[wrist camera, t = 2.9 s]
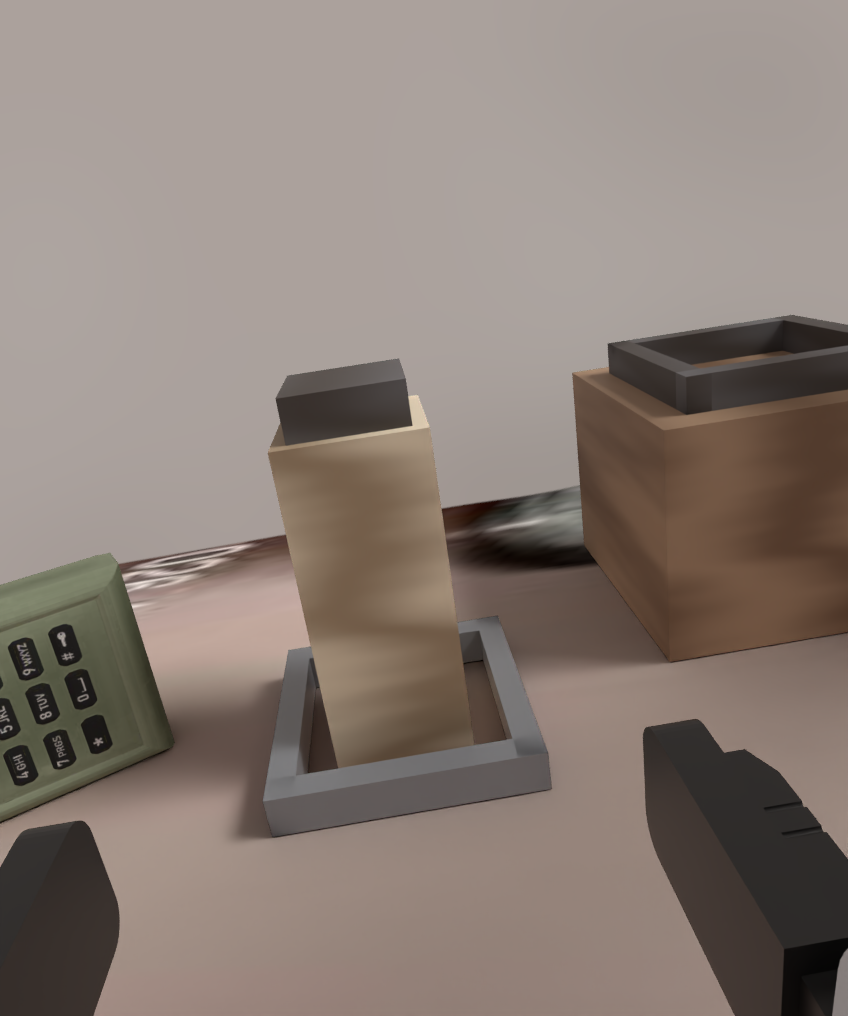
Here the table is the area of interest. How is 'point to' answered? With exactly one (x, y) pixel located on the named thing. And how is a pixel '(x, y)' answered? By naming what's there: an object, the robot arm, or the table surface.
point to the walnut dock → (721, 482)
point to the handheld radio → (72, 684)
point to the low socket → (406, 780)
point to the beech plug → (371, 561)
